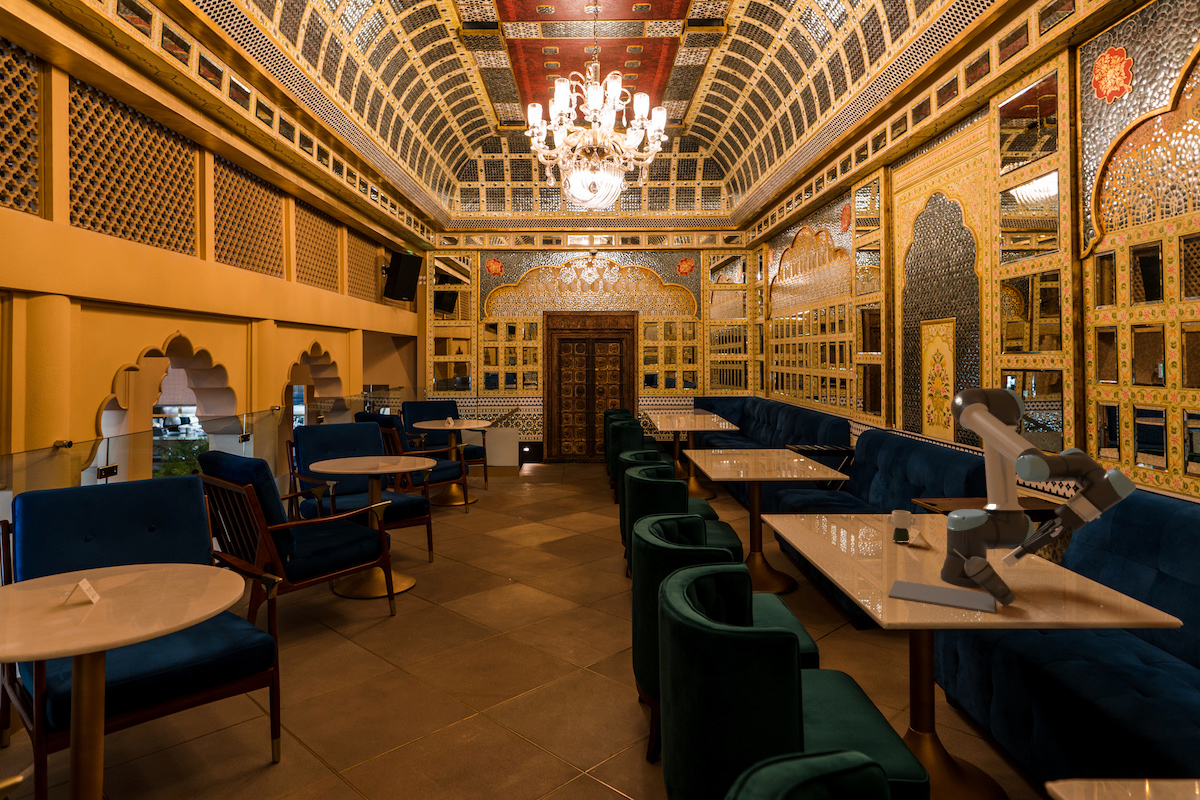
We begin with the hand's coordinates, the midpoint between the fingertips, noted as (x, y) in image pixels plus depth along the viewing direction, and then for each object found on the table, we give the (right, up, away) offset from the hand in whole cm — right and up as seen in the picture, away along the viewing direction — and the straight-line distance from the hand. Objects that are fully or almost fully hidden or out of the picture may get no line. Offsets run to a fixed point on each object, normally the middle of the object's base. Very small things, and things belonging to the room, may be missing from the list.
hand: (1005, 563), depth 189 cm
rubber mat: (-14, -13, +9) cm, 21 cm away
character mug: (+6, -11, +78) cm, 79 cm away
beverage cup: (+1, -11, 0) cm, 11 cm away
